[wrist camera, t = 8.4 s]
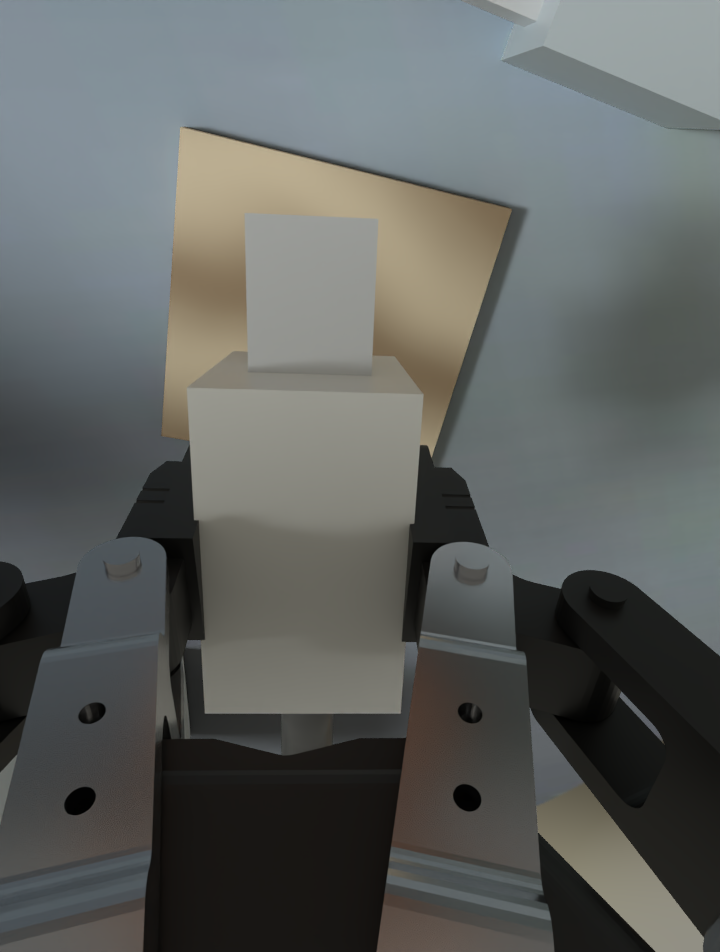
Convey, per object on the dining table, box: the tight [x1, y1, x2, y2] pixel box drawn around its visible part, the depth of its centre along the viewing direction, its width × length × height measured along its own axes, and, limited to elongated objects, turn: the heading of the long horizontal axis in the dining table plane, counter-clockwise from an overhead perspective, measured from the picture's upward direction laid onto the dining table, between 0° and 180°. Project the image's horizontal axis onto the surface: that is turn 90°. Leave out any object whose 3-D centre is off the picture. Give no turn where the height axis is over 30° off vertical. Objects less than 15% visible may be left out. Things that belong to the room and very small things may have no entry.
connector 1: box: [187, 213, 424, 755], centre depth 12 cm, size 12×4×4 cm, turn 178°
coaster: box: [161, 127, 512, 458], centre depth 22 cm, size 11×11×1 cm
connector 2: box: [461, 0, 720, 130], centre depth 16 cm, size 12×4×4 cm, turn 72°
